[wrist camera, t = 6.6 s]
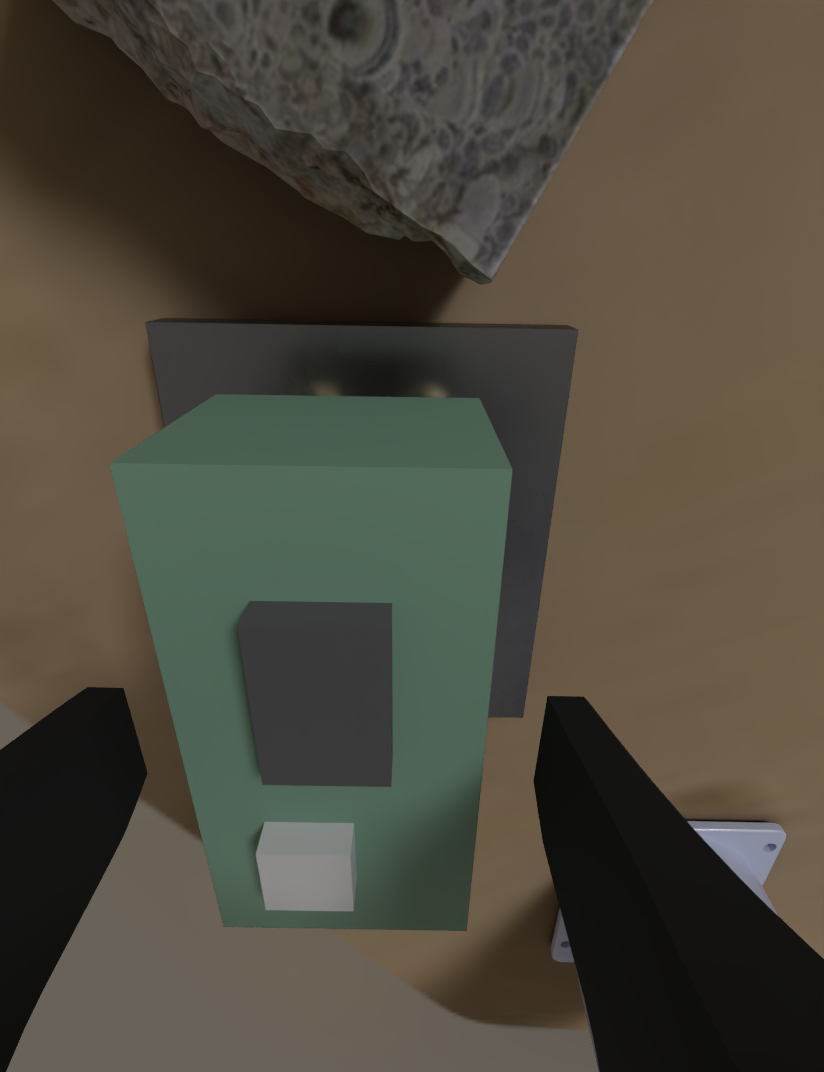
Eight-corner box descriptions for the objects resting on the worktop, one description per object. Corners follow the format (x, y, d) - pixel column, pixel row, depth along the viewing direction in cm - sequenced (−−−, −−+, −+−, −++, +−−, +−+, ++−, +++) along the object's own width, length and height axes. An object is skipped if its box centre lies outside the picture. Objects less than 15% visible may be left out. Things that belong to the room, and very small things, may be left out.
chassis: (517, 696, 19) (541, 797, 15) (228, 690, 19) (184, 791, 15) (567, 325, 13) (621, 347, 10) (163, 318, 14) (71, 337, 10)
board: (454, 769, 15) (469, 963, 11) (270, 766, 15) (213, 960, 11) (479, 398, 10) (521, 486, 6) (215, 394, 10) (83, 480, 6)
